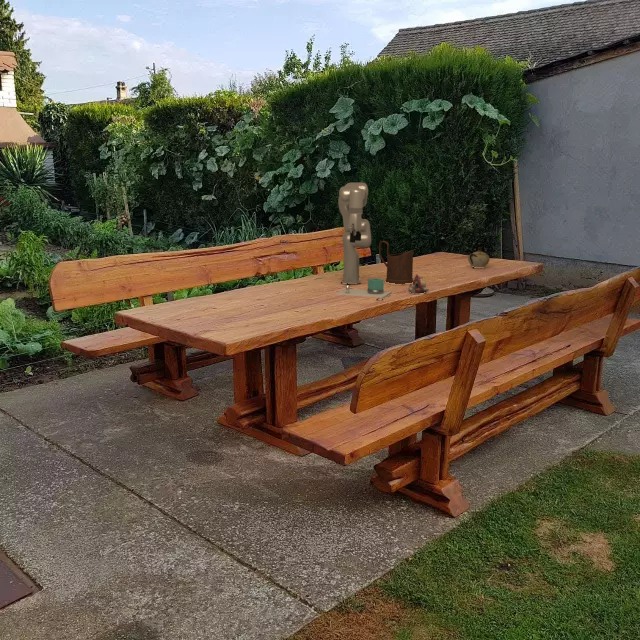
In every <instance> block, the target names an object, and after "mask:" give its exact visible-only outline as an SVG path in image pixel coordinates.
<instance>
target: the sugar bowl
mask: <svg viewBox="0 0 640 640" xmlns="http://www.w3.org/2000/svg"><path fill="white" fill-rule="evenodd" d="M490 259H491V258H490V256H489V253H488V252H484V251H482V247H481V246H479V247H478V248H477V251H474V252H471V253H470V254H469V255H468V257H467V261H468V263H469V265H470V266H471V267H472V266H474V267H485V268H486V266H487V265H488V264H489V263H490Z"/></svg>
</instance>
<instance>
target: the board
mask: <svg viewBox="0 0 640 640" xmlns="http://www.w3.org/2000/svg"><path fill="white" fill-rule="evenodd" d="M367 290H368V289H355V288H349V293H348V294H347V293H346V288H345V289H343V290H340V291H339V292H337V293H335V295H339V296H340V295H341V296H354V297H355V296H356V297H366V298H367V297H368V298H377V299H383V298H385V297H387V296H388V295H390V294H392V293H393V292H392V291H387V290H386V291H385V290H384V293H383V294H369V293H367ZM390 296H391V295H390ZM388 297H389V296H388ZM388 297H387V298H388ZM385 299H386V298H385ZM383 300H384V299H383Z"/></svg>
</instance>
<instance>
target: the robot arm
mask: <svg viewBox="0 0 640 640" xmlns="http://www.w3.org/2000/svg"><path fill="white" fill-rule="evenodd" d="M338 192H339V193H338V199H337V201H338V202H337V203H338V209H339V212H340V214H341V217H342V219H343V220H342V221H343V230H344V233H343V234H342V238H341V239H342V240H341V241H342V248H343V249H342V250H343V280H341V281H340V283H341V282H342V283H349V284H355V283H361V284H362V281H361V280H360V279H359V278H360V254H359V252H358V251H357V249H356V248H369V247H370V246H371V245H372V234H371V224H370V221H369V220H368V219H366V218H362V215H363V209H364V207H366V205H367V201H368V197H369V196H368V195H369V188H368V184H366V183H365V182H347V183H346V184H345V185H344V186H341V187H340V189H339V191H338ZM342 283H341V284H342Z"/></svg>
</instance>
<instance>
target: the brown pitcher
mask: <svg viewBox="0 0 640 640" xmlns="http://www.w3.org/2000/svg"><path fill="white" fill-rule="evenodd" d="M382 243H384V244H386V246H387V247H386V254H387V256H386V261H385V260H384V258H383V256H382ZM378 244H379V245H378V248H379V249H378V251H379V252H378V257H379V258H380V260H381V262H382V263H383V264H384V266H385V267H386V277H385V281H386V282H389V283H395V284H405V283H412V282H413V281H414V278H413V273H414V272H413V267H414V250H409V251H408V250H407V251H406V252H404V253H401V252H400V253H393V254H390V244H389V242H388V241H386V240H381V241H380V242H379V243H378ZM385 281H384V282H385Z"/></svg>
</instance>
